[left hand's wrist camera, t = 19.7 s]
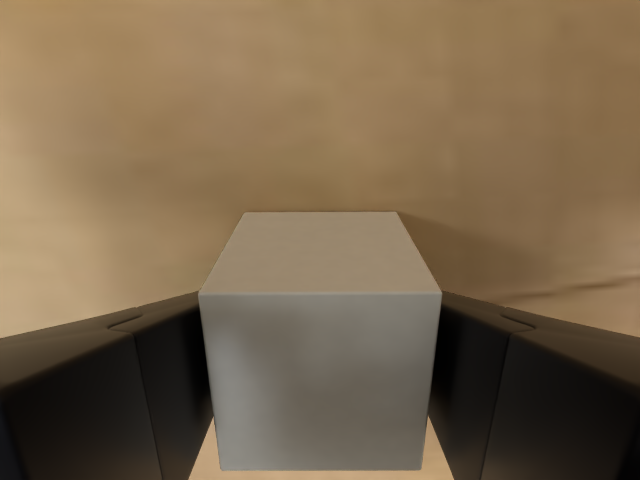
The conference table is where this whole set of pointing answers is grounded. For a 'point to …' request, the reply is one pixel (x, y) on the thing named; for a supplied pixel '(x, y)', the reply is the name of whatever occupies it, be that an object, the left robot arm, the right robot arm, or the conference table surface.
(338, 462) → the block
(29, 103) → the conference table surface
